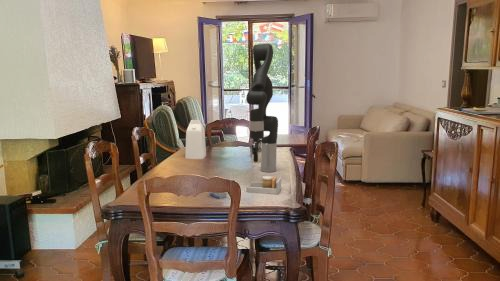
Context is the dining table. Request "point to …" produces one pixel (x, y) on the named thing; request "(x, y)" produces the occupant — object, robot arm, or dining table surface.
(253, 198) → the dining table surface
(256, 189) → the grey tray
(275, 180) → the pusher
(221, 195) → the medicine box
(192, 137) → the milk
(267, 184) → the brown jar
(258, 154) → the cream jar
